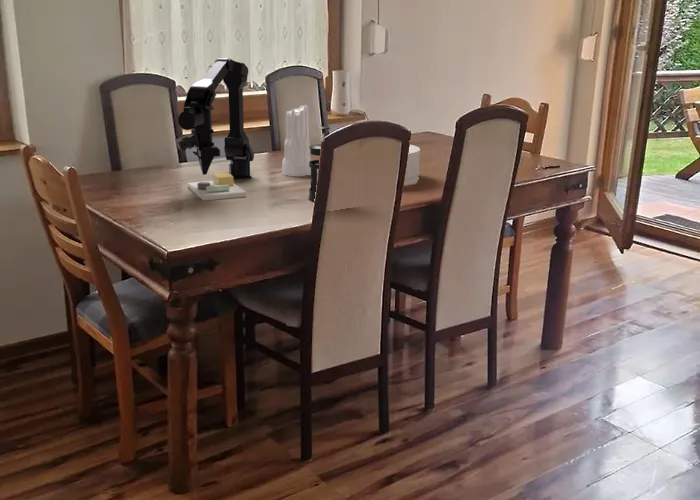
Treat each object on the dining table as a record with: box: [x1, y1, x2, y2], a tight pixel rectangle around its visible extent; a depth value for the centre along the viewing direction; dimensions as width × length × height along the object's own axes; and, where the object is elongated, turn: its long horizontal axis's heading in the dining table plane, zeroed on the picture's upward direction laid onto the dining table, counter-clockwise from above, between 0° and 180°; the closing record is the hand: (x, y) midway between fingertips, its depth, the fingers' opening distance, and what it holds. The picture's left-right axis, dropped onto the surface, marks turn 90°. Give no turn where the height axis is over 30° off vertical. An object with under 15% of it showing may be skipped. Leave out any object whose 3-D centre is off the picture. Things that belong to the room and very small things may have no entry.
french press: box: [308, 125, 331, 203], centre depth 243 cm, size 12×9×23 cm
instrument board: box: [187, 171, 247, 201], centre depth 254 cm, size 14×20×4 cm
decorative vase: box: [281, 104, 312, 177], centre depth 281 cm, size 11×11×25 cm
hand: (204, 174), depth 251 cm, fingers closed
